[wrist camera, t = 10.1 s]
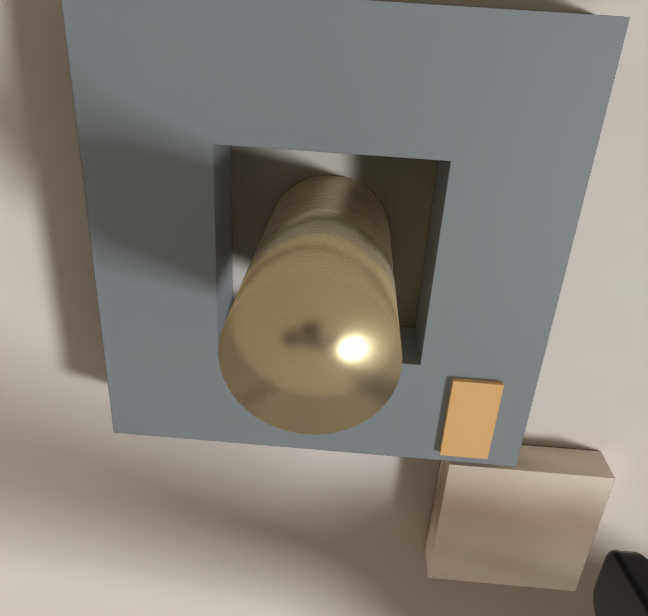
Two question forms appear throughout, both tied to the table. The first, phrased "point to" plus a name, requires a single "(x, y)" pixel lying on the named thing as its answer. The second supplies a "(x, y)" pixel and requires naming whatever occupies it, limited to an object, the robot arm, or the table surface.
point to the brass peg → (316, 313)
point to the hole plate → (350, 138)
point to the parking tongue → (518, 518)
